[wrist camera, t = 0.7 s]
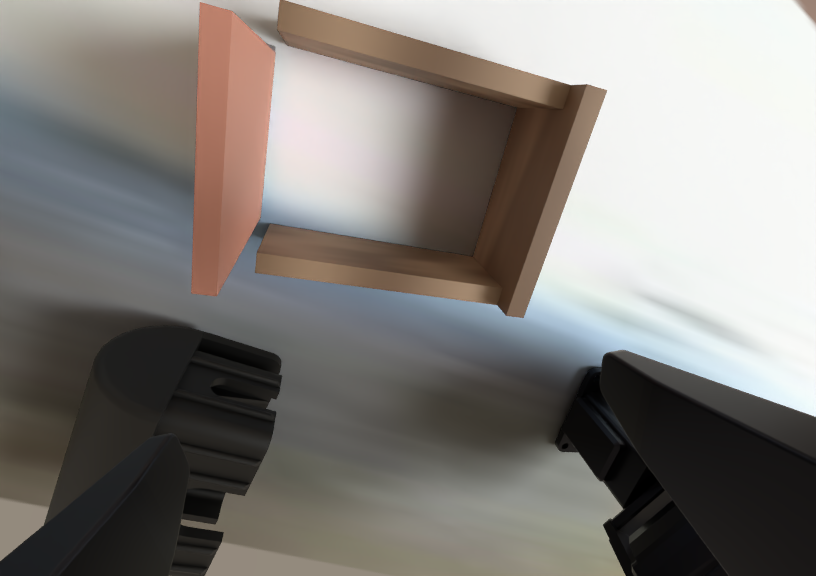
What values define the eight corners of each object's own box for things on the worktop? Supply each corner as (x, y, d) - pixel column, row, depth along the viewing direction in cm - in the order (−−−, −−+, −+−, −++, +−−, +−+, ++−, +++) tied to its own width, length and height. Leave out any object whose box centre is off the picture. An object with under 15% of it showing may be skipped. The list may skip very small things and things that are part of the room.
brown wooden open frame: (538, 92, 18) (607, 90, 14) (482, 273, 22) (523, 317, 17) (290, 21, 16) (276, -9, 11) (268, 240, 19) (250, 283, 14)
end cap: (141, 301, 19) (56, 393, 13) (288, 348, 22) (274, 445, 16) (90, 455, 22) (1, 590, 16) (224, 482, 24) (192, 608, 18)
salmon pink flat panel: (277, 48, 16) (232, -1, 8) (261, 218, 18) (216, 303, 11) (254, 42, 16) (186, -15, 8) (241, 215, 18) (180, 299, 10)
